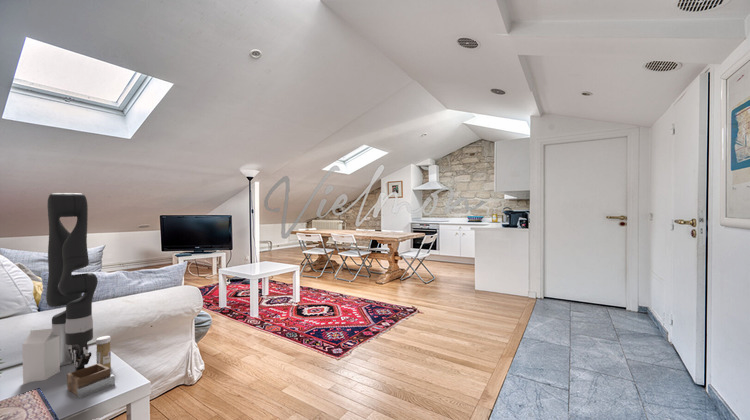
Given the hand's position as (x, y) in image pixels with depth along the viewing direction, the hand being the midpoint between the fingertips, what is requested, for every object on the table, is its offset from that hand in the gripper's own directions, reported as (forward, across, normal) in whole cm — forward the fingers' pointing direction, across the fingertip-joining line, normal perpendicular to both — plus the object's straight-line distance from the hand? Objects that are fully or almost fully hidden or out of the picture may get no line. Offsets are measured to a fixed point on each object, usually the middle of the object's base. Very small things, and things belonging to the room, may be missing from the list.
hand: (80, 376), depth 120 cm
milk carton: (+4, -19, -5) cm, 20 cm away
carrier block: (+2, +7, 0) cm, 7 cm away
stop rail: (+3, +13, 0) cm, 13 cm away
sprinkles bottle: (+4, -5, +9) cm, 11 cm away
